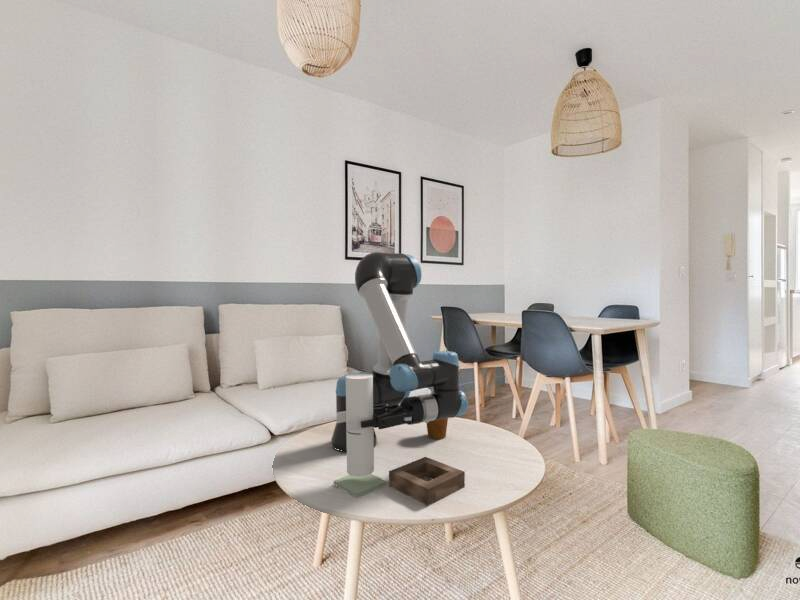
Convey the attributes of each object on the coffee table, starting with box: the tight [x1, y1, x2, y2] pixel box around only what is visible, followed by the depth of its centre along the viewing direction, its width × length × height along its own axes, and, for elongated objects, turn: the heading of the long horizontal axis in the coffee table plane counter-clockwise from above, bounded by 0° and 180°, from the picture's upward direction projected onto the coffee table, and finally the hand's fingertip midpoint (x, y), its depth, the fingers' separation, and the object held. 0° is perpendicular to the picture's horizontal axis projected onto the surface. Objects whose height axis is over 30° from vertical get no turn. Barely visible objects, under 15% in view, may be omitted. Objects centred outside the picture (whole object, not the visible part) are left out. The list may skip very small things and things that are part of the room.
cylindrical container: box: [346, 373, 375, 476], centre depth 111 cm, size 7×7×25 cm
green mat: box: [333, 473, 387, 498], centre depth 112 cm, size 10×10×1 cm
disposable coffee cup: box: [426, 418, 449, 440], centre depth 149 cm, size 10×10×12 cm
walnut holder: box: [388, 456, 466, 506], centre depth 110 cm, size 14×14×4 cm
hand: (342, 421), depth 109 cm, fingers closed on cylindrical container, 7 cm apart
